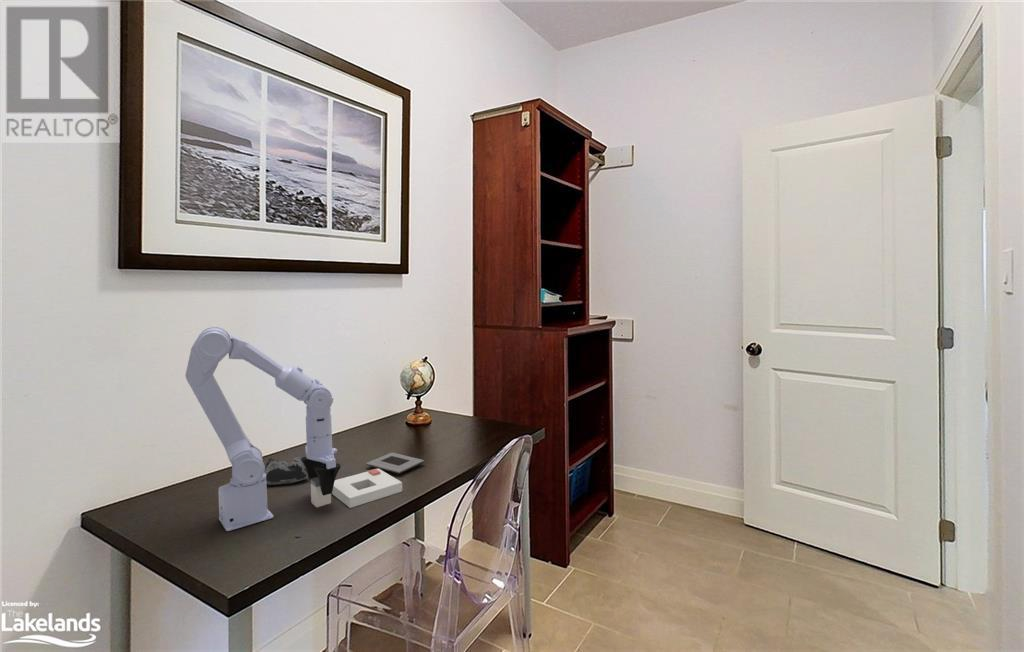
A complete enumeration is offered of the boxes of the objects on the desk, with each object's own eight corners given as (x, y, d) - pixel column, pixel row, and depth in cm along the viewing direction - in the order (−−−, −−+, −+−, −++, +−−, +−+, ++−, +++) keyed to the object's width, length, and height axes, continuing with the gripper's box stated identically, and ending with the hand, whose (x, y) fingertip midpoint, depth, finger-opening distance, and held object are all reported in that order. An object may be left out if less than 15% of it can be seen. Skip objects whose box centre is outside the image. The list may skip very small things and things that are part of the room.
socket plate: (349, 508, 114) (349, 495, 114) (328, 491, 124) (328, 479, 124) (402, 491, 124) (402, 480, 123) (378, 476, 133) (378, 466, 133)
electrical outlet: (424, 467, 142) (424, 459, 142) (399, 479, 133) (398, 470, 133) (392, 459, 148) (391, 451, 148) (365, 470, 139) (365, 462, 139)
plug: (316, 507, 115) (315, 483, 114) (311, 502, 117) (310, 478, 117) (331, 503, 117) (330, 479, 117) (325, 498, 120) (325, 475, 119)
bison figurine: (310, 484, 129) (312, 469, 138) (308, 459, 128) (311, 446, 137) (260, 491, 125) (266, 475, 134) (258, 465, 124) (265, 451, 134)
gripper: (347, 437, 113) (349, 493, 114) (324, 425, 124) (326, 476, 125) (317, 444, 108) (319, 502, 110) (295, 430, 119) (297, 483, 120)
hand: (321, 489), depth 117 cm, fingers open, 7 cm apart
